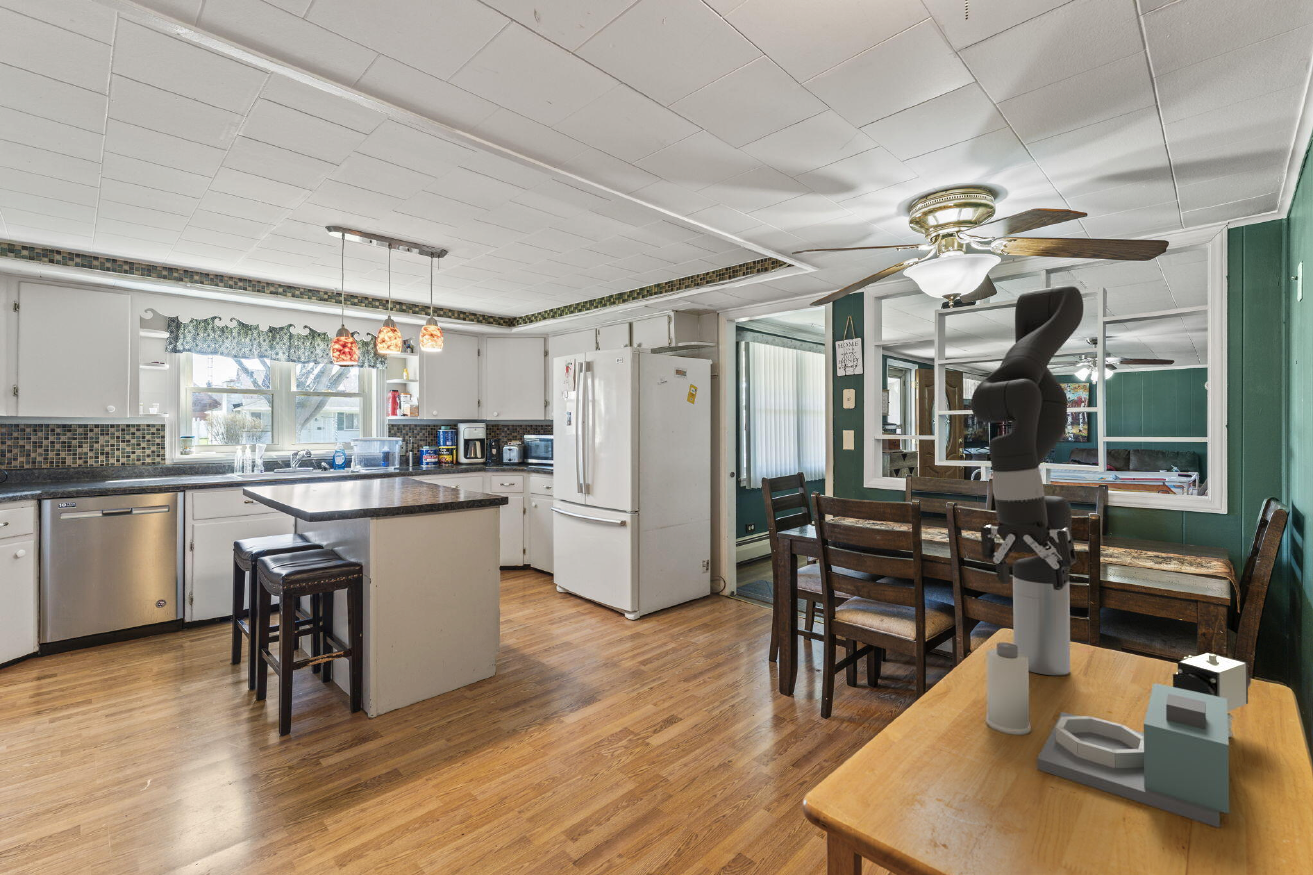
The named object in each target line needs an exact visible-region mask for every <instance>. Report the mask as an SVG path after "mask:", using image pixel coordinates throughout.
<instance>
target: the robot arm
mask: <svg viewBox="0 0 1313 875" xmlns="http://www.w3.org/2000/svg"><path fill="white" fill-rule="evenodd" d="M1083 316H1084V300H1083V296H1082V293H1081V290H1079V288H1077V287H1076V286H1074V285H1067V284H1066V285H1058V286H1053V287H1051V286H1050V287H1046V288H1041V289H1035V290H1030V291H1026V292H1022V293H1021V294H1019V296H1018V298H1017V300H1016V304H1015V311H1014V336H1015V337H1014V338H1015V339H1014V340H1015V343H1014V344H1013V345H1012V346H1011V347H1010V349H1008V351H1007V352H1006V354H1005V356H1004V358H1003V360H1002V362H1001V363H1000V366H998V368H996V369H995V370H993V371H992V372H991V373H990V374H988V376H986V377H985V378H984V379H983V380H982V381H981V382H980V383H979V384H978V385H977V386H976V387H975V389H974V392H973V393H972V395H971V396H972V397H971V400H970V408H971V411H972V413H973V415H974V416H975V417H976V419H977V420H979V421H980V422H982V423H986V424H995V423H1006V422H1011V423H1010V424H1011V430H1010V431H1011V432H1010V433H1007V434H1004V435H999V436H996V437H994V438H992V439H990V441H989V443H988V449H989V455H990V458H989V459H990V463H991V471H992V494H993V496H994V504H995V512H996V519H997V522H998V526H995V525H992V524H990V523H989V524H987V525H984V526H982V527H981V528H980V540H981V552H982V558H983V559H984V560H991V561H993V563H994V564H995V571H996V577H997V580H998V581H1000V584H1002V585H1008V584H1009V583H1010V582H1011V574H1010V568H1009V562H1008V561H1007V558H1008V557H1009V556H1010V554H1011V553H1012V552H1014V553H1023V552H1024V553H1026V554H1036V553H1037V555H1036V556H1030V557H1025V558H1020V559H1017V560H1015V561H1014V562H1013V564H1012V600H1013V601H1012V602H1013V603H1012V605H1013V608H1012V612H1013V616H1012V617H1013V626H1012V627H1013V644H1014V645H1016V646H1017V647H1018V652H1020V653H1022V654H1024V655H1026V656H1027V657H1028V672H1031V673H1035V674H1041V675H1046V676H1047V675H1048V676H1065V675H1069V674H1070V672H1071V621H1070V620H1071V615H1070V614H1071V612H1070V607H1071V606H1070V605H1071V604H1070V603H1071V602H1070V599H1071V598H1070V566H1072V565H1073V564H1075V563H1076V562H1077V561H1078V559H1077V554H1076V549H1075V548H1076V547H1075V545H1074V540H1073V536H1072V520H1073V519H1072V518H1073V517H1072V509H1071V505H1070V502H1069V501H1068V500H1067V499H1066V498H1065V497H1062V496H1055V495H1053V496H1052V495H1045V490H1044V484H1043V479H1042V475H1041V471H1040V468H1039V466H1040V465H1041V463H1043V461H1044V460H1045V459H1046V457H1047V456H1049V454H1050V453H1051V452H1052V451H1053V449H1054V448H1055V447H1056V445H1057V444H1058V443H1059V442H1060V440H1061V439H1062V437H1063V435H1064V434H1065V431H1066V429H1067V416H1068V397H1067V394H1066V390H1064V387H1063V386H1062V385H1061V383H1060V382H1059V381H1058V379H1057V378H1056V377H1055V375H1054V374H1053V373H1052V371H1051V370H1050V368H1049V367H1048V365H1049V364H1050V362H1051V361H1052V359H1053V357H1054V356H1055V354H1056V353H1057V352H1058V351H1059V350H1060V349H1061V348H1062V347H1063V345H1064V344H1065V343H1066V342H1067V341H1068V340H1069V338H1071V337H1072V335H1073V333H1075V331H1076V330H1077V329H1078V327H1079V326H1080V324H1081V322H1082V320H1083ZM997 535H998V536H999V538H1001V540H1002V541H1003V542H1002V544H1001V545H1000V547H999V549H997V551H996V542H995V541H996V540H995V538H996V537H997Z"/></svg>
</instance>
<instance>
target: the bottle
mask: <svg viewBox="0 0 1313 875" xmlns="http://www.w3.org/2000/svg"><path fill="white" fill-rule="evenodd" d="M1029 672H1030V671H1028V657H1027V656H1026V655H1024V654H1022V653H1020V652H1018V647H1017V646H1016V645H1014V643H1009V642H997V643H996V648H991V649H990V648H989V649H988V650H987V651H986V690H987V691H986V696H987V697H986V699H987V700H986V703H987V704H986V706H987V707H986V708H987V710H986V711H987V712H986V715H985V723H986V724H987V725H988V726H989V727H990V728H991V729H993V730H995V731H997V732H1000V733H1003V734H1006V735H1007V734H1008V735H1012V736H1023V735H1024V736H1025V735H1028V734H1030V732H1031V730H1032V728H1031V723H1030V699H1029V697H1030V696H1029V695H1030V694H1029V692H1030V691H1029V687H1030V686H1029V685H1030V684H1029V681H1030V680H1029V674H1030V673H1029Z"/></svg>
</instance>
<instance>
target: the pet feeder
mask: <svg viewBox="0 0 1313 875" xmlns="http://www.w3.org/2000/svg"><path fill="white" fill-rule="evenodd" d="M1149 697H1150V698H1149V700H1148V705H1147V708H1146V713H1145V716H1144V720H1143V732H1141V731H1137V730H1134V729H1131V728H1129V727H1128V726H1126V725H1124V724H1120V723H1117V722H1113V721H1109V720H1105V719H1103V718H1098V717H1095V716H1089V715H1083V716H1082V715H1080V716H1079V715H1076V714H1071V713H1069V712H1064V711H1061V712H1060V715H1059V717H1058V719H1057V721H1056V722H1055V725H1054V727H1053V728H1052V730H1051V732H1050V734H1049V736H1048V738H1047V739H1046V741H1045V743H1044V745H1043V747H1042V749H1041V751H1040V752H1039V754H1038V757H1037V758H1036V759H1037V760H1036V761H1037V762H1036V763H1037V764H1036V766H1037V770H1039V771H1041V772H1045V773H1048V774H1052V775H1053V776H1056V777H1060V778H1064V779H1066V780H1068V781H1073V782H1075V783H1078V784H1082V785H1085V786H1088V787H1092V788H1095V789H1096V790H1097V789H1098V790H1099V791H1103V792H1107V793H1109V794H1113V795H1116V796H1120V797H1122V798H1125V799H1128V800H1132V801H1134V802H1137V803H1140V804H1144V805H1147V806H1150V807H1153V808H1156V809H1159V810H1163V811H1166V812H1168V813H1171V814H1175V815H1178V816H1182V817H1184V818H1188V819H1191V820H1193V821H1196V822H1199V823H1203V824H1206V825H1209V826H1213V827H1216V828H1218V829H1220V828H1221V824H1220V823H1221V819H1220V818H1221V816H1220V815H1221V812H1222V813H1225V814H1228V815H1230V771H1229V770H1230V765H1229V764H1230V763H1229V762H1230V761H1229V760H1230V755H1229V754H1230V750H1229V749H1230V748H1229V744H1230V743H1229V738H1228V717H1227V713H1228V712H1227V698H1222V697H1217V696H1213V695H1208V694H1203V693H1198V692H1194V691H1189V690H1184V689H1180V688H1175V687H1173V686H1170V685H1165V684H1159V683H1156V682H1154V683H1153V684H1152V688H1151V692H1150V696H1149Z"/></svg>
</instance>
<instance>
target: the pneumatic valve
mask: <svg viewBox="0 0 1313 875" xmlns="http://www.w3.org/2000/svg"><path fill="white" fill-rule="evenodd" d="M1251 682H1252V680H1251V676H1250V673H1249V663H1248V662H1247V661H1243V660H1239V659H1236V658H1231V657H1228V656H1224V655H1220V654H1215V653H1212V652H1206V653H1204V654H1199V655H1197V656H1193V655H1188V656H1184V657H1183V658H1182V660H1181V661H1178V662H1177V672H1176V673H1173V674H1172V687H1175V688H1180V689H1184V690H1189V691H1194V692H1198V693H1203V694H1208V695H1213V696H1217V697H1222V698H1227V717H1228V739H1229V738H1231V737H1234V732H1233V731H1232V728H1233V722H1232V720H1234V716H1233V714H1231V713H1230V712H1231V711H1233V710H1236V709H1238V708H1241V707H1244V706H1246V705H1248V704H1249V688H1250V687H1251V684H1252V683H1251Z"/></svg>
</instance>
